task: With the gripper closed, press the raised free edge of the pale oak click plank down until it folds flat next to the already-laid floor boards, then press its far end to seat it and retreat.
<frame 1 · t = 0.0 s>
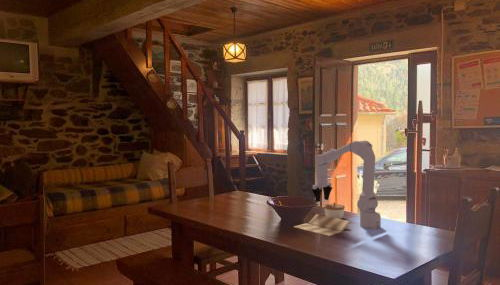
hand: (322, 200, 216), 10 cm above the table, tool pointing down, fingers open, 7 cm apart
lidded jar: (334, 220, 215), on the table
click plank: (328, 223, 197), point 3 cm above the table, hinge at 28.0°
laid floor: (317, 231, 191), on the table
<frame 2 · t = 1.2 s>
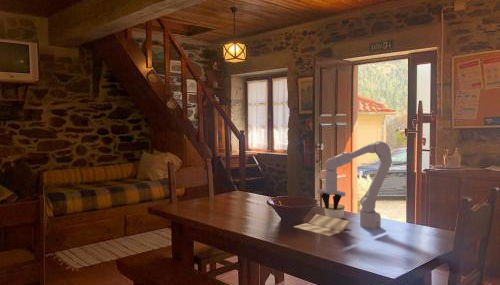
hand: (331, 208, 199), 9 cm above the table, tool pointing down, fingers open, 4 cm apart
nothing on the table moved.
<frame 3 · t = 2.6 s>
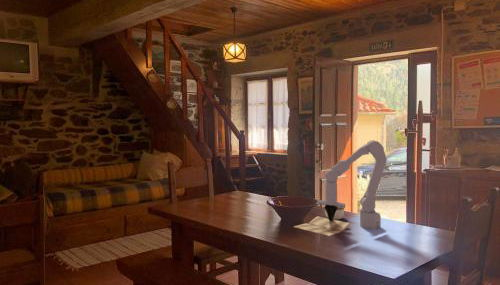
hand: (331, 220, 199), 4 cm above the table, tool pointing down, fingers closed, pressing on click plank
click plank: (328, 224, 198), point 2 cm above the table, hinge at 18.6°, touching gripper
everything else where it was.
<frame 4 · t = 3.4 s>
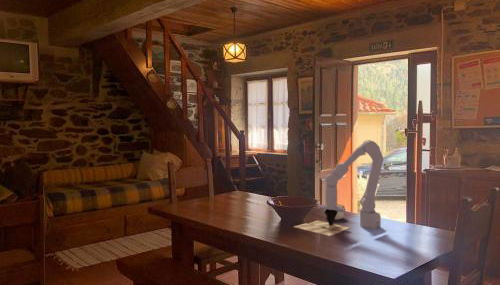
hand: (331, 224, 199), 1 cm above the table, tool pointing down, fingers closed, pressing on click plank
click plank: (328, 226, 198), point 1 cm above the table, hinge at 2.0°, touching gripper
everything else where it was.
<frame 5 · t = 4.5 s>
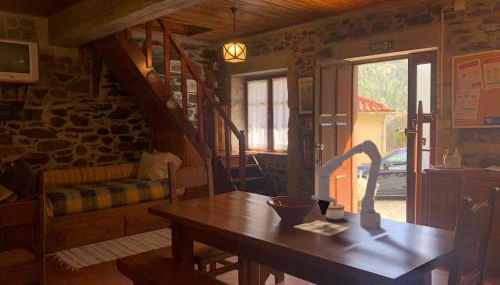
hand: (323, 214, 203), 5 cm above the table, tool pointing down, fingers closed
click plank: (328, 226, 198), point 1 cm above the table, hinge at 1.9°
everything else where it was.
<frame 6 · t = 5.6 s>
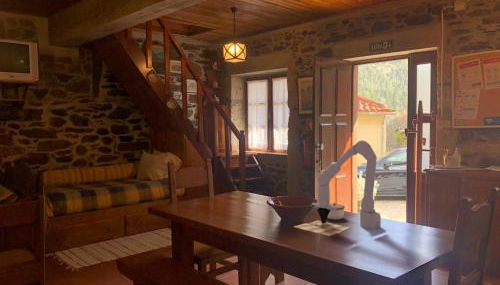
hand: (323, 222, 203), 1 cm above the table, tool pointing down, fingers closed, pressing on click plank
click plank: (328, 226, 198), point 1 cm above the table, hinge at 1.9°, touching gripper
everything else where it was.
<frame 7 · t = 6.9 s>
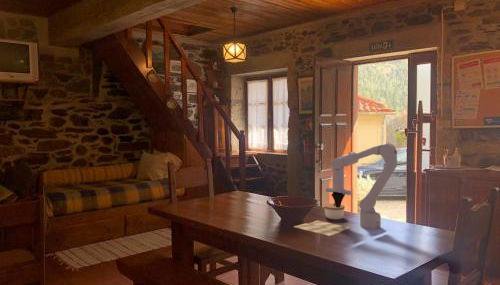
hand: (338, 207, 203), 9 cm above the table, tool pointing down, fingers closed
click plank: (328, 226, 198), point 1 cm above the table, hinge at 1.9°
everything else where it was.
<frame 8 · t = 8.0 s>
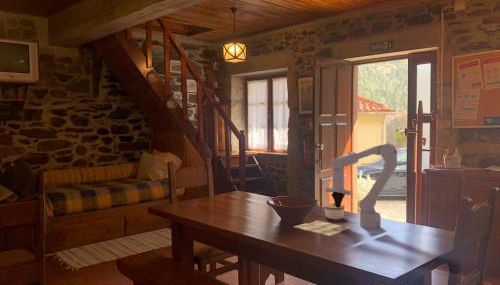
hand: (338, 207, 203), 9 cm above the table, tool pointing down, fingers closed
nothing on the table moved.
at the end: click plank at +2° (first picture: +28°); the gripper is holding nothing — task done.
